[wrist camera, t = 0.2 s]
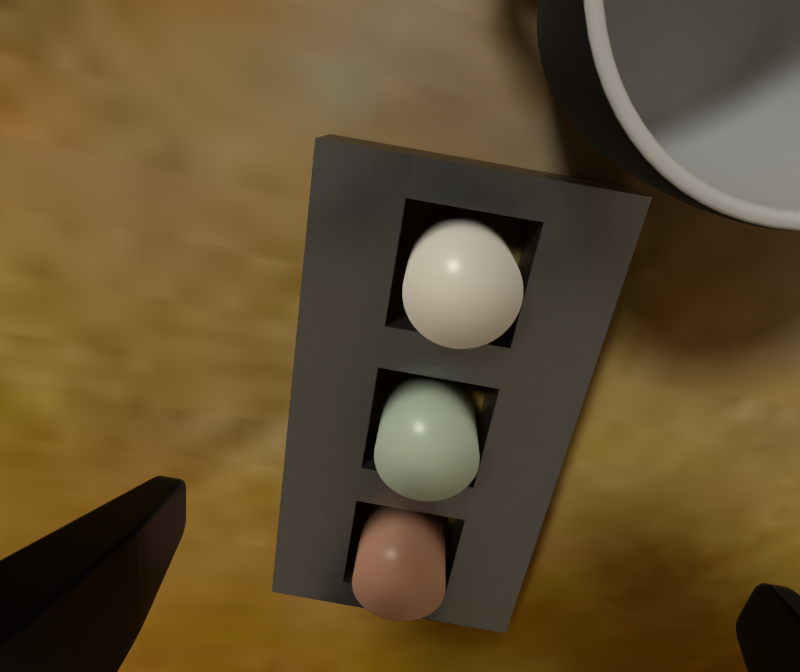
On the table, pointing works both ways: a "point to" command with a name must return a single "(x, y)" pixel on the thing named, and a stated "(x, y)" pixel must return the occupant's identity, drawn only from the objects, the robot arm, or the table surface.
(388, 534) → the salmon pink rounded lump
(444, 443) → the egg sage
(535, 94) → the table surface
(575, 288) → the grey holder
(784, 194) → the mug
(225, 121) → the table surface
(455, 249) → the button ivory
